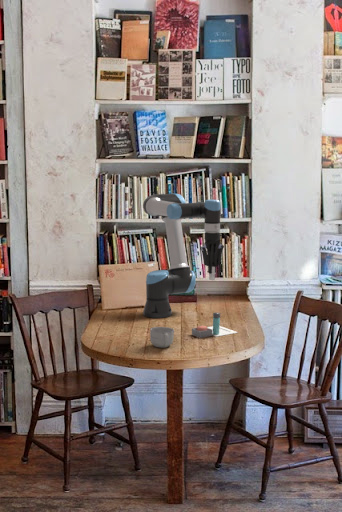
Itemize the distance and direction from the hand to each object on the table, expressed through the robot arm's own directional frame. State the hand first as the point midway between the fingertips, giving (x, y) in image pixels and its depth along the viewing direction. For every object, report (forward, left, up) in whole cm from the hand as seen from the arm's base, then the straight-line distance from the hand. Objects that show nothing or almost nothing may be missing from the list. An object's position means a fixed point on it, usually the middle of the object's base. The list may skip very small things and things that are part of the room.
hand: (211, 279), depth 362 cm
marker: (+10, -5, -24) cm, 27 cm away
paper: (+6, -1, -24) cm, 25 cm away
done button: (+8, -12, -24) cm, 28 cm away
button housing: (+8, -12, -24) cm, 28 cm away
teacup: (+14, -38, -25) cm, 47 cm away
